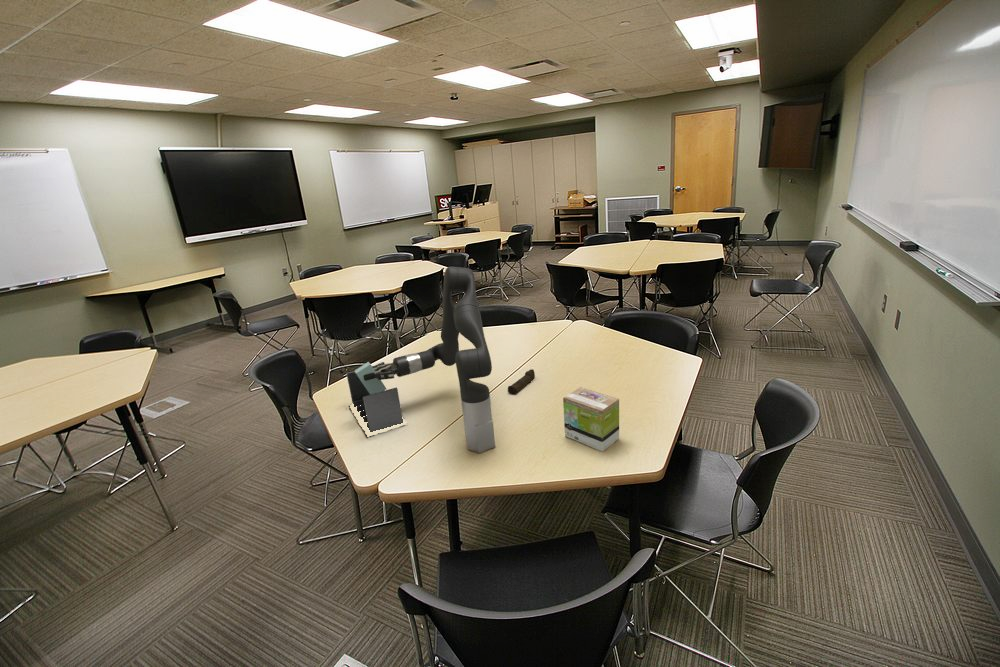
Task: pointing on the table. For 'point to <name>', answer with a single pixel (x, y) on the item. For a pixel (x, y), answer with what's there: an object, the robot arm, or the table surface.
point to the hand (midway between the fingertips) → (363, 376)
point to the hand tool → (521, 382)
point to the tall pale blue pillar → (373, 384)
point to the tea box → (591, 418)
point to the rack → (375, 404)
